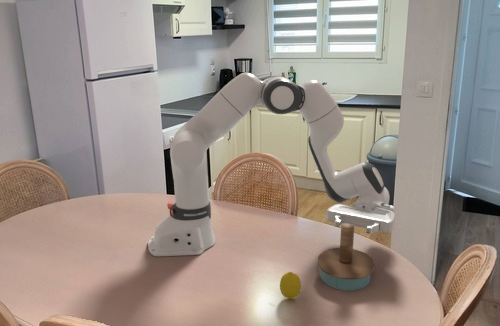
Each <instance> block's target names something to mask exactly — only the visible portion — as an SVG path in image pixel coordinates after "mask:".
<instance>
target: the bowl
mask: <svg viewBox="0 0 500 326" xmlns="http://www.w3.org/2000/svg"><path fill="white" fill-rule="evenodd" d="M371 275H372V274H370V275H369V276H367V277H364V278H360V279H342V278H337V277H333V276H331V275H328V274H326V273H325V272H323V271H322V270H321V269H320V268H319V278H320V279H321V280H322V282H323V283H324V285H327V286H329V287H332V288H334V289H336V290H341V291H350V292H353V291H356V290H363V289H365V288H366V287H367V286H368V285H370V284H371Z"/></svg>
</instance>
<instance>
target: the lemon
mask: <svg viewBox="0 0 500 326" xmlns="http://www.w3.org/2000/svg"><path fill="white" fill-rule="evenodd" d="M301 286H302V285H301V280H300V277H299V275H298V274H296V273H294V272H291V271H288V272H286V273H284V274H283V275H282V276H281V279H280V280H279V290H280V293H281V295H282V296H283V297H284V298H286V299H288V300H292V299H295V298H297V297H298V296H299V294H300V293H301V289H302V287H301Z"/></svg>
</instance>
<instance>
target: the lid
mask: <svg viewBox="0 0 500 326" xmlns="http://www.w3.org/2000/svg"><path fill="white" fill-rule="evenodd" d="M354 235H355V226H354V225H352V224H349V223H344V224H341V226H340V239H339V240H340V242H339V243H340V244H339V247H334V248H330V249H328V248H327V249H326V250H323V251H321V253H319V255H318V256H317V259H316V260H317V261H316V262H317V265H318V268H319V270H320V269H321V270H322V271H323V272H325V273H326V274H328V275H331V276H333V277H337V278H342V279H360V278H364V277H367V276H369V275H370V274H371V275H372V274H373V273H374V271H375V260H374V259H373V258H372V257H371V256H370V255H369V254H367V253H365V252H363V251H361V250H358V249H354ZM371 275H370V276H371Z"/></svg>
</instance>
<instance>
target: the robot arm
mask: <svg viewBox="0 0 500 326" xmlns="http://www.w3.org/2000/svg"><path fill="white" fill-rule="evenodd" d="M262 105H263V106H264V107H265V108H267V110H268V111H269V112H271V113H272V114H275V115H287V114H289V113H293V112H297V111H298V112H299V113H300V114H301V116H302V117H303V119H304V121H305V122H306V124H307V126H308V128H309V133H310V135H309V137H308V139H307V141H308V142H307V143H308V147H309V151H310V152H311V155H312V157H313V160H314V162H315V165H316V168H317V169H318V172H319V175H320V176H321V179H322V182H323V186H324V189H325V192H326V194H327V196H328V198H329V199H330V200H333V202H337V203H335V204H333V205H331V206H329V207H328V208H327V209H326V216H325V217H326V220H327V221H328V222H332V223H334V227H336V228H341V225H342V224H344V223H349V224H352V225H354V227H355V228H356V227H357V228H362V229H365V230H366V231H365V232H366V234H369V235H372V234H373V233H376V232H380V233H386V234H391V233H392V234H393V232H394V229H395V223H396V222H395V219H396V214H395V213H396V212H395V211H396V210H395V207H394V206H393V205H390V192H389V189H387V187H385V181H384V177H383V175H382V173H381V172H380V170H379V168H378V167H377V166H375V165H374V164H372V163H370V162H367V161H362V162H360V163H357V164H356V165H353V166H351V167H348V168H346V169H343V170H341V171H337V170H336V169H335V167H334V166H333V163H332V161H331V158H330V155H329V154H328V147H329V146H330V144H332V142H333V141H335V139H336V138H337V137H338V136H339V134H340V133H341V131H342V129H343V127H344V123H345V120H344V119H345V118H344V115H343V113H342V110H341V108H340V107H339V105H338V103H337V102H336V100H335V98H334V97H333V96H332V94H331V93H330V92H329V91H328V89H327V88H326V87H325V86H324V84H322V83H321V82H320V81H319V80H316V79H310V80H309V79H308V80H307V81H304V82H303V83H301V84H298V83H295V82H293V81H292V80H291V79H289V78H288V77H286V76H282V75H272V76H269V77H265V78H262V79H260V78H258V77H257V76H256V75H255V74H253V73H251V72H242V73H240V74H238V75H237V76H235V77H234V78H232V79H231V80H230V81H229V82H227V84H225V85H224V86H223V87H222V88H221V89H220V90H219V91H218V92H217V93H216V94H215V95H213V97H212V98H211V99H210V100H209V101H208V102H207V103H206V104H205V105H204V106H203V107H202V108H201V109H200V110H199V111H198V112H197V113H195V114H194V115H193V116H192V117H190V118H189V120H188V121H186V122H185V123H184V124H183V125H182V126H180V128H179V129H177V131H176V132H175V134H174V136H173V140H172V142H171V145H170V149H169V154H170V155H169V156H170V163H171V164H170V165H171V172H172V180H173V185H174V186H173V189H174V202H175V203H173V202H172V201H171V202H170V201H169V202H167V204H166V205H167V209H168V210H169V215H168V216H166V217H165V218H164V219H163V220H161V221H160V222H159V223H158V224H157V225H156V227H155V230H154V234H153V235H152V236H151V237H150V238H149V240H148V242H147V249H148V252H149V254H150V255H152V256H154V257H173V256H174V257H175V256H195V255H196V256H198V255H202V254H203V253H204V252H205V251H206V250H207V249H209V248H211V247H212V246H213V245H215V243H216V241H217V240H216V238H215V234H214V231H213V227H212V226H213V225H212V221H211V218H212V206H211V202H210V197H209V196H210V194H209V192H210V191H209V175H208V174H209V173H208V158H207V157H208V155H207V150H208V149H209V148H210V147H211V146H212V145H214V143H216V142H217V141H218V140H220V139H221V138H223V137H224V136H225V135H226V136H227V134H228V133H229V132H230V131H231V130H233V128H234V127H235V126H236V125H238V123H239V122H240V121H241V120H243V119H244V118H245V116H246V115H247V114H248V113H249V112H250V111H251V110H252V109H254V108H255V107H258V106H262ZM356 197H358V198H357V200H356V201H354V203H353V204H352V205H348V204H343V203H344V202H347V201H349V200H350V199H353V198H356Z"/></svg>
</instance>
